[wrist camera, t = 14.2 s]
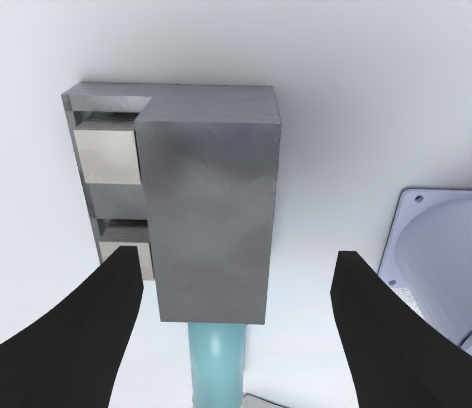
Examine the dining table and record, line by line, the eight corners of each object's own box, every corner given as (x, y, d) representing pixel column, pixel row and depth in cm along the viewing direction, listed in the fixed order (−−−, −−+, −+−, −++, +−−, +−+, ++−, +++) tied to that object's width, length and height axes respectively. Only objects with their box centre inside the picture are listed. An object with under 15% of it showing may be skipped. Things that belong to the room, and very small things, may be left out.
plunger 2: (161, 207, 24) (148, 243, 20) (165, 242, 25) (153, 280, 22) (118, 206, 24) (98, 241, 21) (124, 241, 25) (107, 279, 22)
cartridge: (188, 267, 26) (179, 314, 22) (248, 269, 26) (248, 316, 22) (195, 377, 33) (189, 427, 29) (243, 379, 33) (243, 428, 29)
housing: (272, 86, 20) (281, 123, 15) (261, 257, 26) (264, 324, 21) (80, 82, 20) (24, 117, 15) (114, 253, 27) (83, 319, 21)
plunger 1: (151, 107, 20) (133, 131, 17) (156, 154, 22) (140, 184, 19) (100, 105, 20) (73, 129, 17) (108, 153, 22) (85, 183, 19)
